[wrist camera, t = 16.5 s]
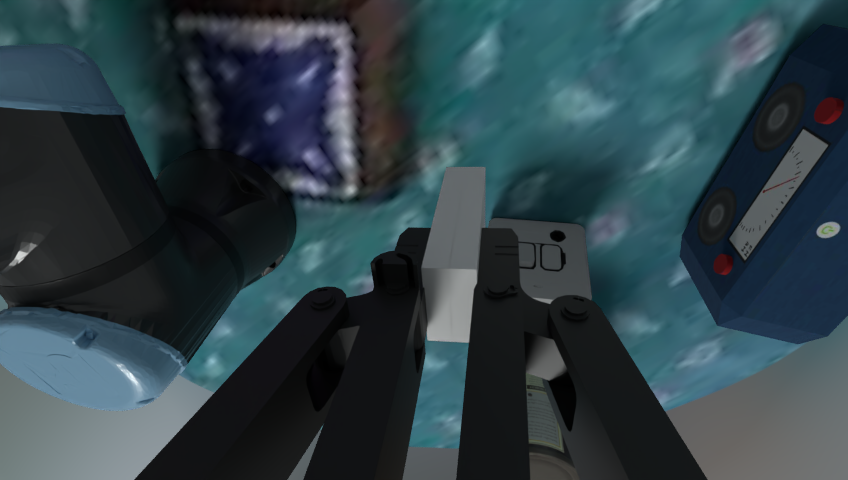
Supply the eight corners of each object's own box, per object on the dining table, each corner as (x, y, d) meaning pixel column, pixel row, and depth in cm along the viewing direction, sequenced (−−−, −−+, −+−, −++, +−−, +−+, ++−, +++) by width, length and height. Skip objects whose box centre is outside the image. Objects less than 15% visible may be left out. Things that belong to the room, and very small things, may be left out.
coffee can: (585, 373, 57) (606, 486, 45) (529, 411, 62) (535, 521, 50) (519, 332, 55) (524, 440, 43) (467, 375, 60) (458, 481, 48)
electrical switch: (584, 222, 46) (597, 289, 38) (574, 261, 49) (584, 330, 42) (488, 215, 47) (484, 278, 40) (485, 253, 50) (480, 318, 43)
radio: (793, 16, 34) (1069, 94, 17) (912, 42, 34) (1306, 145, 17) (661, 245, 46) (750, 421, 29) (749, 265, 45) (888, 454, 29)
